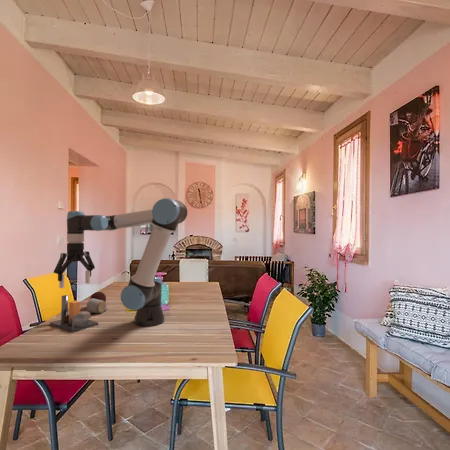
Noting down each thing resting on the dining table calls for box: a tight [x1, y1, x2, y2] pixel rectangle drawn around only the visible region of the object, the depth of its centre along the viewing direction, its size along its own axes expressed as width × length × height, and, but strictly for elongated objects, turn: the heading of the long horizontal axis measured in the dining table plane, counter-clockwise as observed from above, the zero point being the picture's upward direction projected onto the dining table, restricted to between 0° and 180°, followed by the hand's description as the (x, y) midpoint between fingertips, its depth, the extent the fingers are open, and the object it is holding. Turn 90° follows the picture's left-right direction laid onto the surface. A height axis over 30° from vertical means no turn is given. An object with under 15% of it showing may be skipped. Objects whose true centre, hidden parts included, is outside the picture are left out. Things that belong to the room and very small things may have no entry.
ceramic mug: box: [86, 298, 108, 314], centre depth 172 cm, size 11×8×8 cm
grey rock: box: [72, 310, 92, 327], centre depth 146 cm, size 6×8×6 cm
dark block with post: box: [49, 294, 99, 333], centre depth 149 cm, size 19×13×13 cm
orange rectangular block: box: [68, 300, 81, 323], centre depth 150 cm, size 3×3×10 cm
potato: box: [89, 291, 107, 303], centre depth 182 cm, size 9×12×9 cm
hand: (75, 285), depth 149 cm, fingers open, 13 cm apart
